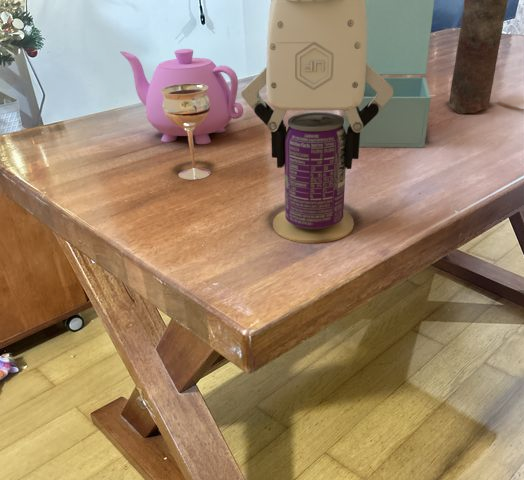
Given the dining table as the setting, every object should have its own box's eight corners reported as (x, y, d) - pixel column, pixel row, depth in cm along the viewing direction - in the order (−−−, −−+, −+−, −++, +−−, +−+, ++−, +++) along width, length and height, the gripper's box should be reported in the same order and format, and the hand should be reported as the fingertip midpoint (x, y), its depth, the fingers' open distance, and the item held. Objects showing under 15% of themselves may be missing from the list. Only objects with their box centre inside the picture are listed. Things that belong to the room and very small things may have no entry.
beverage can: (328, 205, 70) (332, 108, 63) (352, 227, 65) (359, 123, 58) (277, 215, 69) (274, 115, 61) (297, 238, 63) (297, 132, 56)
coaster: (331, 202, 72) (331, 200, 72) (368, 233, 65) (368, 230, 64) (261, 216, 70) (261, 213, 69) (291, 249, 62) (291, 246, 62)
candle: (441, 105, 107) (460, -16, 95) (477, 103, 108) (500, -19, 95) (456, 116, 101) (478, -13, 89) (494, 113, 102) (521, -15, 89)
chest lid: (437, -28, 88) (434, -22, 92) (355, -25, 90) (355, -19, 94) (426, 74, 94) (423, 76, 97) (349, 74, 96) (349, 76, 100)
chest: (424, 147, 88) (431, 97, 83) (342, 146, 90) (344, 97, 85) (419, 122, 99) (425, 77, 94) (346, 122, 101) (349, 77, 96)
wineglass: (170, 168, 85) (158, 85, 77) (213, 163, 86) (205, 81, 78) (174, 184, 80) (162, 96, 72) (220, 178, 81) (212, 91, 73)
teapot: (114, 144, 96) (96, 57, 88) (154, 119, 107) (142, 41, 99) (228, 152, 90) (221, 60, 81) (259, 125, 101) (255, 42, 93)
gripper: (220, -15, 50) (234, 174, 61) (413, -22, 47) (392, 178, 58) (237, -22, 56) (247, 152, 67) (410, -28, 53) (391, 154, 64)
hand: (315, 163), depth 62 cm, fingers closed on beverage can, 7 cm apart
